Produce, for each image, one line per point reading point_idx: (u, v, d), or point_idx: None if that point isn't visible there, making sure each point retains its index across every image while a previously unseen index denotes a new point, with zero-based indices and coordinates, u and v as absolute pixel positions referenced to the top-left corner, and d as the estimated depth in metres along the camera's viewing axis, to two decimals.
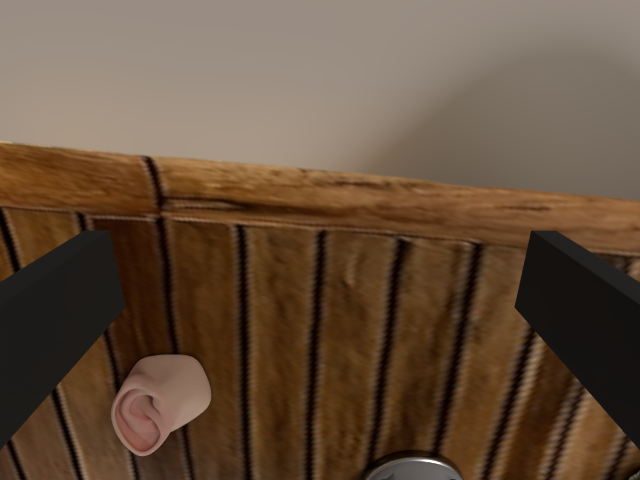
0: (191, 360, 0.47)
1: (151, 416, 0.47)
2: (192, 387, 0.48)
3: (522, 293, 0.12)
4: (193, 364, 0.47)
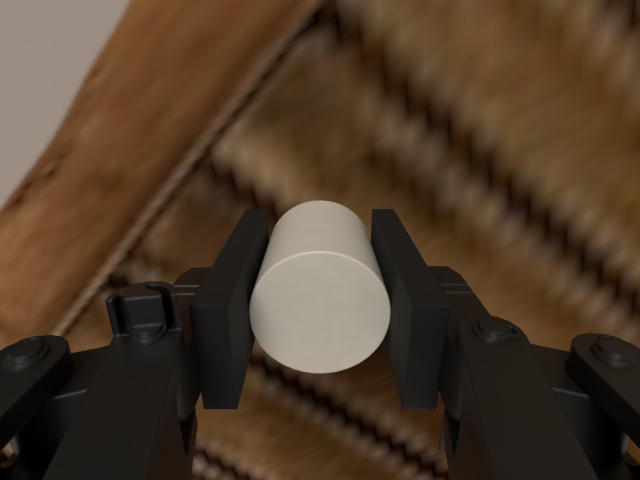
0: None
1: None
2: None
3: None
4: None
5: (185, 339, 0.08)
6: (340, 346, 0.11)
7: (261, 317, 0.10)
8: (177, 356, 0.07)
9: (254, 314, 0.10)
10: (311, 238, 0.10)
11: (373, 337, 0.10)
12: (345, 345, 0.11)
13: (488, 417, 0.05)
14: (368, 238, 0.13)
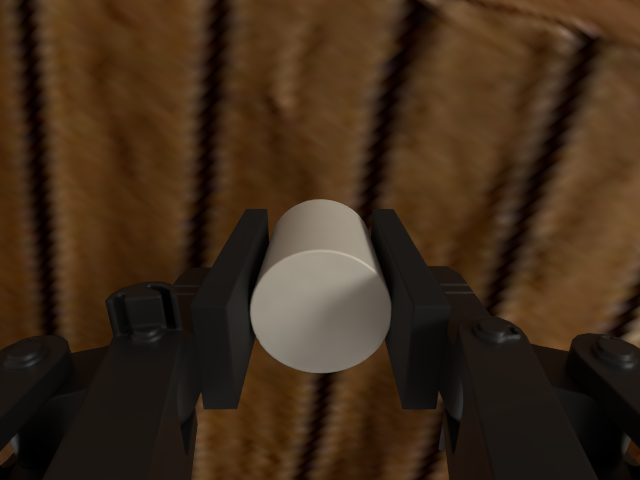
0: None
1: None
2: None
3: None
4: None
5: (185, 339, 0.08)
6: (341, 345, 0.10)
7: (262, 316, 0.10)
8: (177, 356, 0.07)
9: (255, 313, 0.10)
10: (312, 237, 0.10)
11: (374, 336, 0.10)
12: (346, 344, 0.10)
13: (488, 417, 0.05)
14: (369, 237, 0.13)
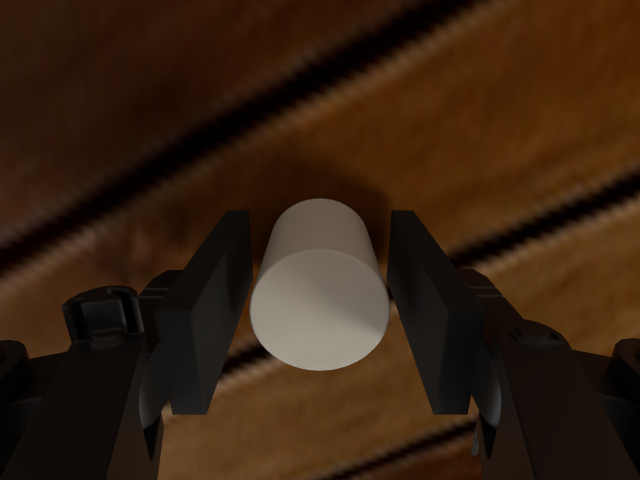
0: None
1: None
2: None
3: (389, 265, 0.14)
4: None
5: (148, 343, 0.08)
6: (340, 343, 0.11)
7: (261, 315, 0.10)
8: (139, 360, 0.07)
9: (254, 312, 0.10)
10: (311, 236, 0.10)
11: (372, 334, 0.11)
12: (345, 342, 0.11)
13: (529, 422, 0.05)
14: (368, 236, 0.13)
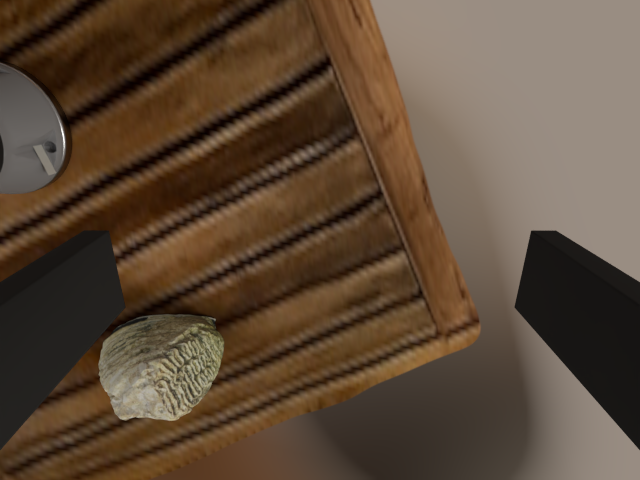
0: None
1: None
2: None
3: (522, 293, 0.12)
4: None
5: None
6: None
7: None
8: None
9: None
10: None
11: None
12: None
13: None
14: None
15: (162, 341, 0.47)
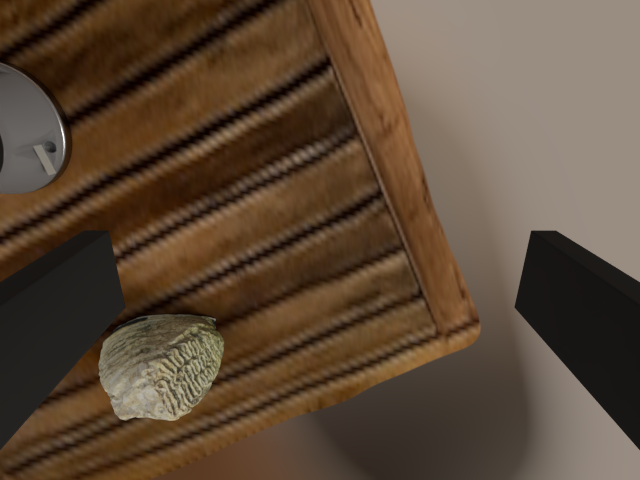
0: None
1: None
2: None
3: (522, 293, 0.12)
4: None
5: None
6: None
7: None
8: None
9: None
10: None
11: None
12: None
13: None
14: None
15: (162, 341, 0.47)
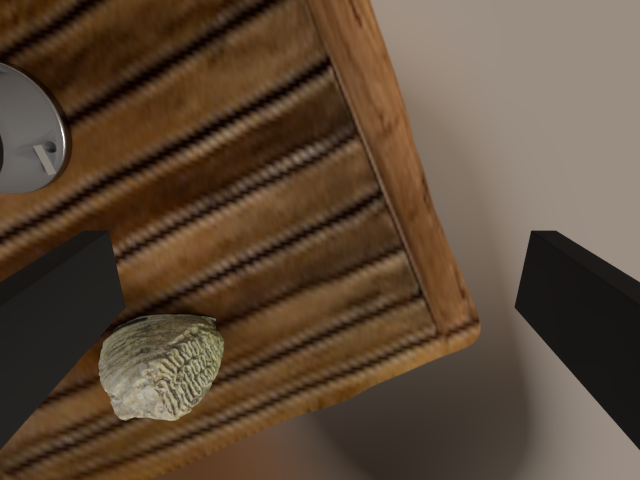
0: None
1: None
2: None
3: (522, 293, 0.12)
4: None
5: None
6: None
7: None
8: None
9: None
10: None
11: None
12: None
13: None
14: None
15: (162, 341, 0.47)
